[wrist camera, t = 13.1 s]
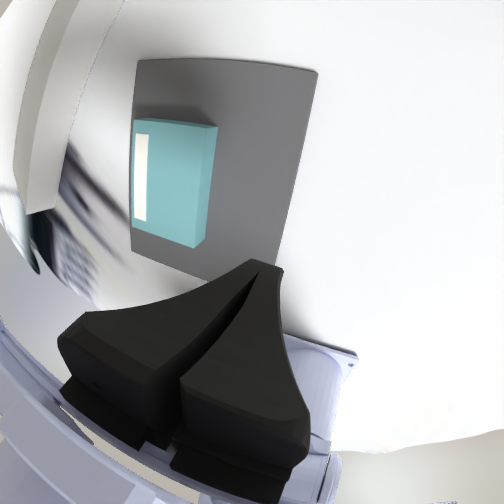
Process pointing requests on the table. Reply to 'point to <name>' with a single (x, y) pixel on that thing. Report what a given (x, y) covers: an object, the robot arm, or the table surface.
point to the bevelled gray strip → (56, 95)
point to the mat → (230, 153)
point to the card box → (172, 178)
